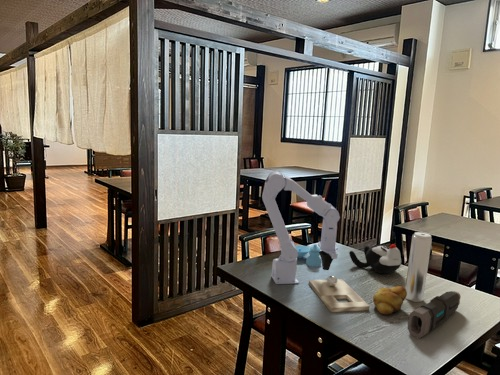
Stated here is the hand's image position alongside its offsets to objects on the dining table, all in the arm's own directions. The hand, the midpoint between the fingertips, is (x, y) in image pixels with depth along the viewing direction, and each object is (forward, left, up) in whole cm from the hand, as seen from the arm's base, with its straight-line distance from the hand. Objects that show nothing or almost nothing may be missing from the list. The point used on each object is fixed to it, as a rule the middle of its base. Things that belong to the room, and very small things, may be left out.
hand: (325, 269), depth 144 cm
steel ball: (0, -7, -2) cm, 7 cm away
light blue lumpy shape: (0, +24, -6) cm, 25 cm away
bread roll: (+14, -22, -6) cm, 27 cm away
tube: (+26, -32, -6) cm, 42 cm away
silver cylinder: (+29, -16, -6) cm, 34 cm away
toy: (+29, +11, -6) cm, 32 cm away
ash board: (0, -12, -5) cm, 13 cm away
